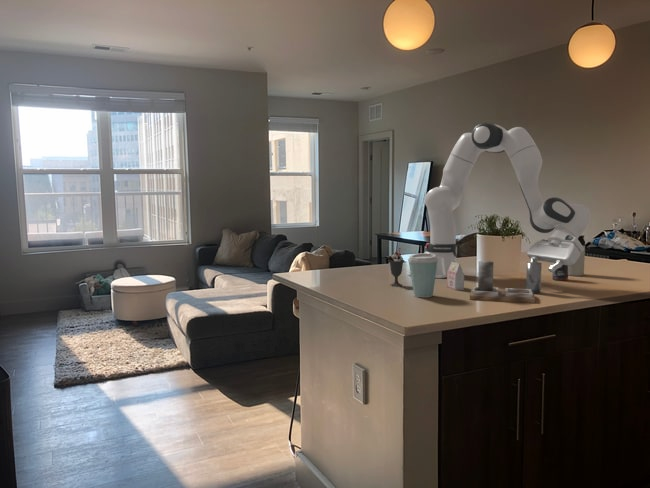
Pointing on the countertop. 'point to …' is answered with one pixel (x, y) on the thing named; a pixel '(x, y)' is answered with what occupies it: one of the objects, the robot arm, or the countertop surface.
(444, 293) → the countertop surface
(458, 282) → the milk carton
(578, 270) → the travel mug
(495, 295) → the board
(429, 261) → the disposable coffee cup
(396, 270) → the sundae
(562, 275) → the supplement bottle
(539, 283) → the loose pin
